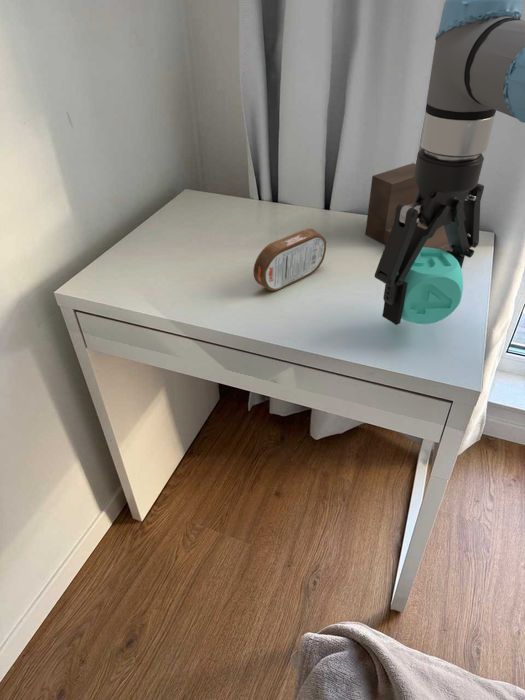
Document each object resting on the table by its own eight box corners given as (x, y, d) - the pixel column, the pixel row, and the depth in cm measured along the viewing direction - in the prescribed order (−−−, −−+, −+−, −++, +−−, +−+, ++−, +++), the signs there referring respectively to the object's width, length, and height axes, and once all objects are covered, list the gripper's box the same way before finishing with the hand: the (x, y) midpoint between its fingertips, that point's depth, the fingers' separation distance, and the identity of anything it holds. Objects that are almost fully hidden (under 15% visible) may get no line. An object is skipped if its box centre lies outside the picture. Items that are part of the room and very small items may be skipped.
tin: (315, 262, 92) (318, 220, 87) (327, 269, 90) (331, 226, 85) (252, 292, 85) (251, 248, 80) (264, 300, 83) (263, 255, 78)
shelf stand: (465, 249, 95) (482, 188, 87) (426, 267, 90) (440, 204, 82) (403, 220, 105) (413, 162, 97) (365, 234, 100) (372, 175, 93)
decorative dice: (455, 323, 70) (468, 273, 65) (399, 326, 69) (408, 277, 64) (436, 292, 76) (446, 245, 71) (384, 295, 76) (391, 248, 71)
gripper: (485, 126, 66) (450, 271, 80) (356, 163, 56) (341, 321, 70) (538, 139, 61) (491, 291, 75) (406, 182, 51) (380, 348, 65)
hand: (419, 306), depth 72 cm, fingers closed on decorative dice, 11 cm apart
